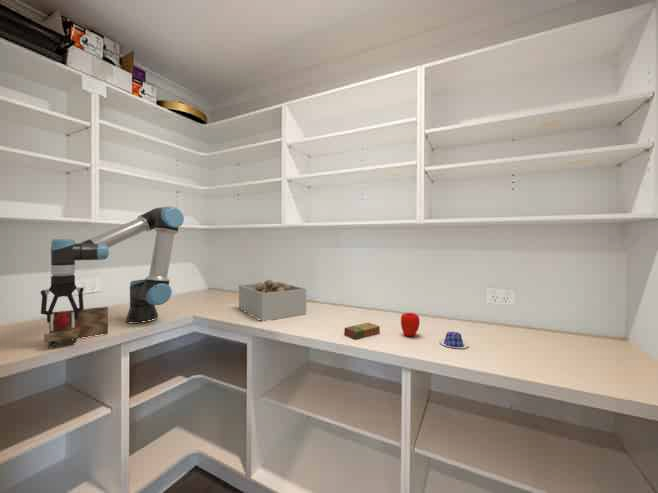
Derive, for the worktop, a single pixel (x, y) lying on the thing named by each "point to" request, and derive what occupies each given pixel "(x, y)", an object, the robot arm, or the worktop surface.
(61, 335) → the cleat shelf
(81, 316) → the wallboard
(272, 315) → the storage crate
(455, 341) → the blue plaid bucket hat
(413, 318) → the red rounded piece
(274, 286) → the lumpy brown heap
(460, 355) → the worktop surface
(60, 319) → the onion
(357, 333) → the carton
